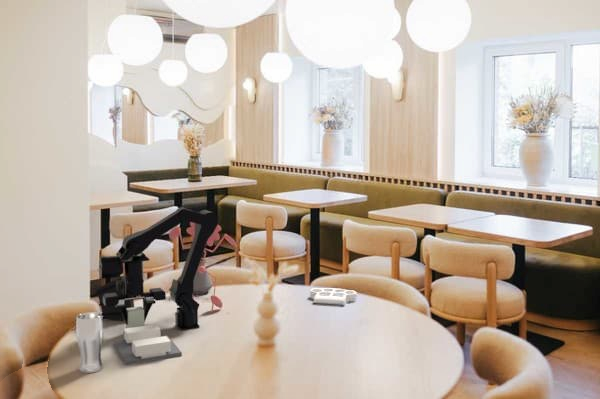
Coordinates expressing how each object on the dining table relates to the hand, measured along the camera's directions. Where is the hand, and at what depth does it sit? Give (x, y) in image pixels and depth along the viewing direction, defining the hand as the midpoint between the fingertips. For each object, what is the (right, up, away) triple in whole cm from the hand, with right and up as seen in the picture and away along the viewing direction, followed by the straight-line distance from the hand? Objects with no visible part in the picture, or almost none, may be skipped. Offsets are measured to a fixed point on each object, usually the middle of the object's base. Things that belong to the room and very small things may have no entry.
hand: (135, 323), depth 199 cm
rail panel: (+7, -5, -14) cm, 16 cm away
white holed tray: (+65, 0, +40) cm, 77 cm away
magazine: (-11, -2, +15) cm, 19 cm away
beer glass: (-4, -7, -28) cm, 30 cm away
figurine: (+18, 0, +29) cm, 34 cm away
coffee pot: (+17, +2, +50) cm, 53 cm away
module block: (0, -1, 0) cm, 1 cm away
